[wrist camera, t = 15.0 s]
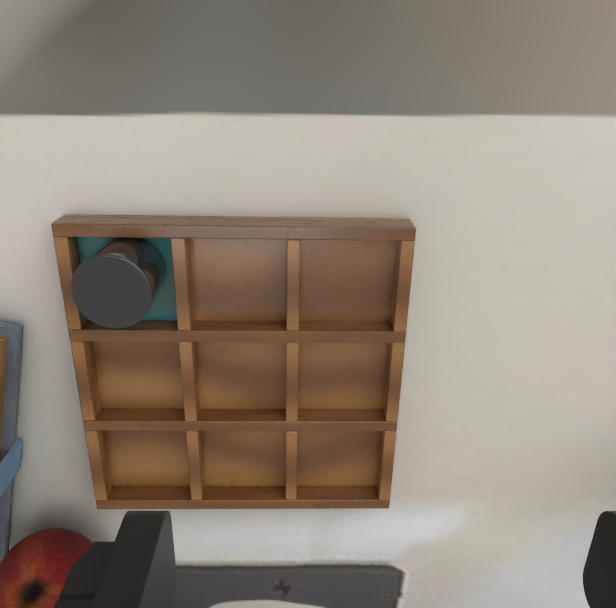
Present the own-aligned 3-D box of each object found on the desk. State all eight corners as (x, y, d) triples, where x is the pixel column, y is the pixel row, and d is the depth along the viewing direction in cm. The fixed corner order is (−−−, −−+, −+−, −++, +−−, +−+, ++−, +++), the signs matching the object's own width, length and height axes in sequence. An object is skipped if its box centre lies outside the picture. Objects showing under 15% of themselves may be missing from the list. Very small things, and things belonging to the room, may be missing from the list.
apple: (124, 517, 44) (90, 610, 36) (108, 588, 47) (73, 687, 39) (25, 497, 43) (-31, 588, 35) (15, 571, 46) (-39, 669, 38)
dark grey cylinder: (90, 232, 34) (65, 253, 30) (164, 234, 34) (149, 256, 31) (97, 300, 36) (75, 328, 32) (168, 302, 36) (154, 330, 32)
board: (64, 214, 34) (50, 223, 33) (409, 218, 35) (416, 228, 33) (105, 488, 43) (97, 509, 41) (384, 488, 43) (389, 508, 41)
